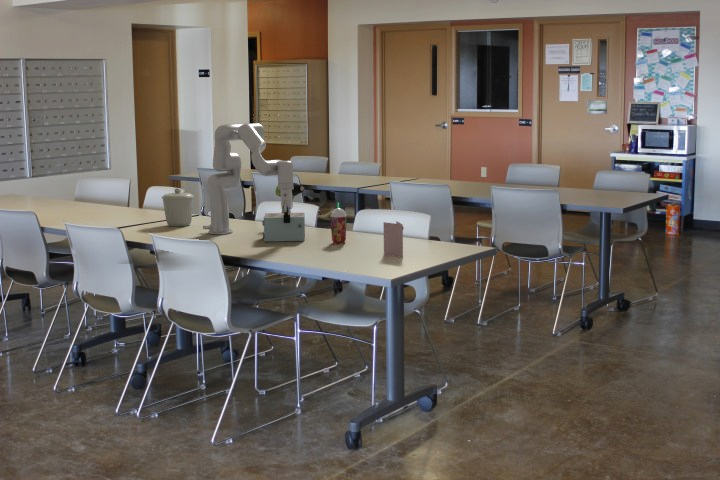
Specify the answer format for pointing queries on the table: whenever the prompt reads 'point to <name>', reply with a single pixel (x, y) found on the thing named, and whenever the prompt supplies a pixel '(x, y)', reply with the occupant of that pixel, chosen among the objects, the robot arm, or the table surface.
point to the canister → (178, 208)
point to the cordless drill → (295, 191)
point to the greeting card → (393, 239)
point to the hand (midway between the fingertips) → (287, 222)
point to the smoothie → (338, 225)
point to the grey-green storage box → (283, 229)
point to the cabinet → (283, 214)
